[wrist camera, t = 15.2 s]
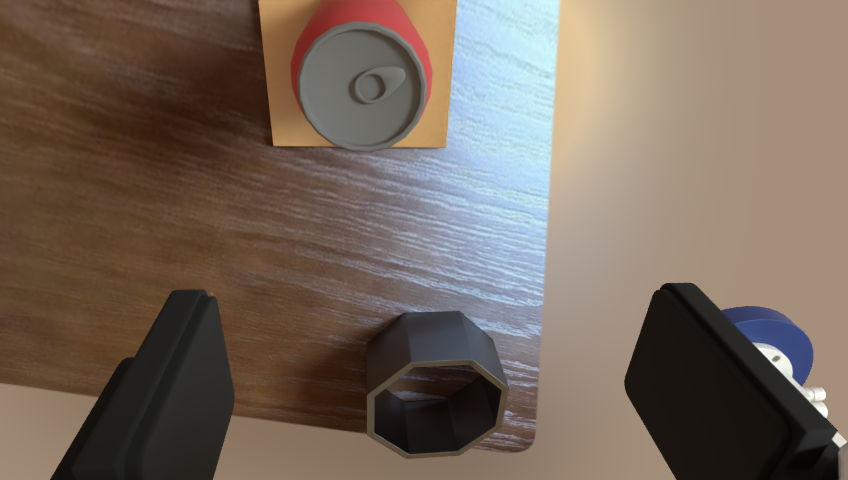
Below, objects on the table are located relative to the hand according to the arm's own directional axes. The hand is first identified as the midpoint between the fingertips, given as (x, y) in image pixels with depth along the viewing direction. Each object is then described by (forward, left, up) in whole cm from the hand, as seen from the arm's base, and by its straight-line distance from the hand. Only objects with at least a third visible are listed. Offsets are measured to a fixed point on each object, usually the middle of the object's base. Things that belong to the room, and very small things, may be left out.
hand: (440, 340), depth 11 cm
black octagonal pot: (-4, +26, -26) cm, 37 cm away
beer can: (+2, -2, -26) cm, 26 cm away
